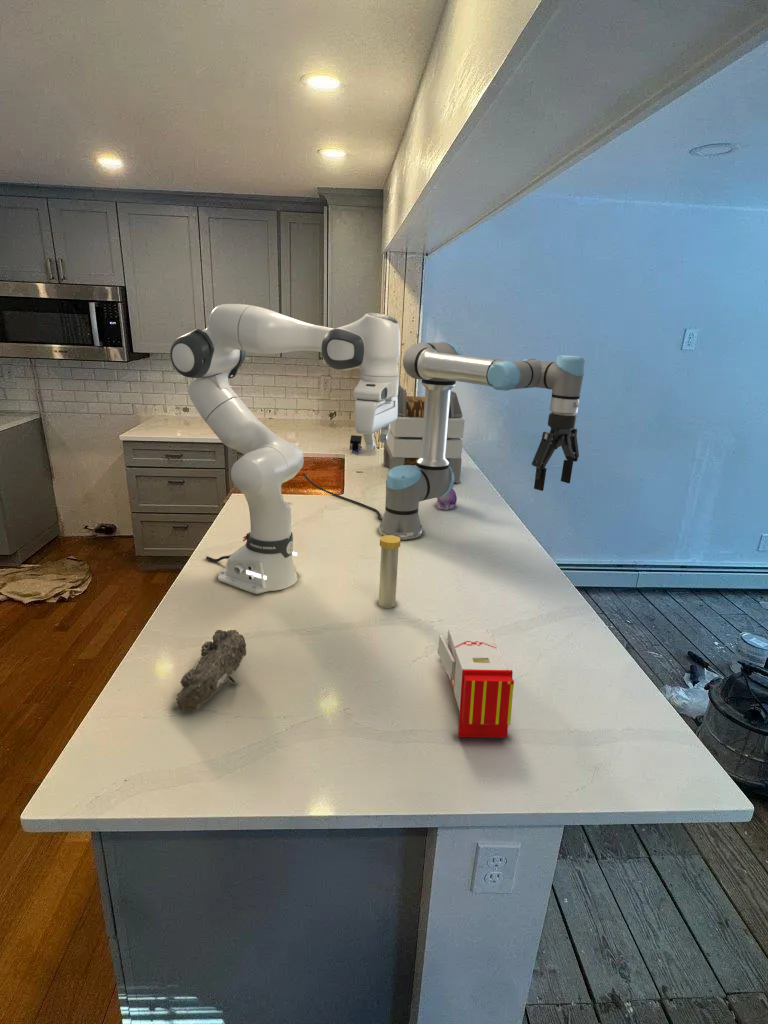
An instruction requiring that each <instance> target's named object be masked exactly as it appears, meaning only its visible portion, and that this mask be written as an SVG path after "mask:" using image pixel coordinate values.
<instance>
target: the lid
mask: <svg viewBox="0 0 768 1024" xmlns="http://www.w3.org/2000/svg"><path fill="white" fill-rule="evenodd" d="M401 541H402V540H400V538H399V537H397V536H393V535H386V536H383V535H381V537H380V538H379V546H380V548H381V547H382V548H385V549H397V548H399V549H400V547H401Z"/></svg>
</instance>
